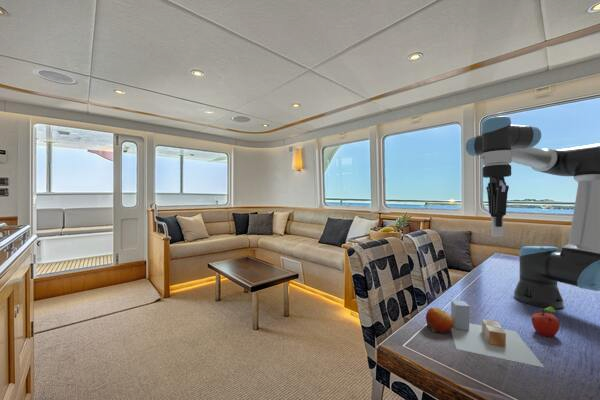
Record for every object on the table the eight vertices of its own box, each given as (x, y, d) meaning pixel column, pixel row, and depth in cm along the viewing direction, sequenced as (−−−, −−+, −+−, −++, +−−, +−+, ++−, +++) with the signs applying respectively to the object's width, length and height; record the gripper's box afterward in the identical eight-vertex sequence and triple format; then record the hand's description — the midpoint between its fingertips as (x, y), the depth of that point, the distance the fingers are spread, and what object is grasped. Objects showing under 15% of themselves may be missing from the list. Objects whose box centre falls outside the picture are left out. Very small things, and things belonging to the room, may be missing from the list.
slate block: (464, 325, 85) (464, 301, 85) (469, 331, 81) (469, 306, 81) (451, 323, 86) (451, 300, 86) (455, 329, 82) (455, 305, 82)
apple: (524, 329, 83) (524, 299, 83) (543, 329, 83) (543, 298, 83) (548, 343, 75) (549, 309, 75) (569, 342, 76) (570, 309, 76)
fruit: (415, 320, 86) (427, 300, 86) (434, 331, 86) (445, 311, 87) (429, 333, 78) (442, 310, 78) (450, 345, 78) (462, 323, 79)
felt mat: (515, 332, 81) (515, 331, 81) (544, 369, 64) (544, 367, 64) (447, 320, 89) (447, 319, 89) (456, 350, 71) (456, 349, 71)
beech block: (506, 348, 72) (497, 334, 79) (506, 334, 72) (497, 321, 79) (488, 344, 74) (481, 331, 81) (489, 330, 74) (482, 319, 81)
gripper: (477, 167, 91) (478, 233, 92) (488, 163, 79) (490, 239, 79) (503, 166, 88) (504, 233, 89) (519, 162, 76) (520, 240, 77)
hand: (497, 236), depth 84 cm, fingers closed
